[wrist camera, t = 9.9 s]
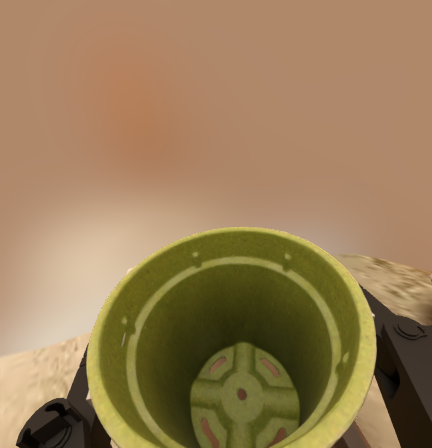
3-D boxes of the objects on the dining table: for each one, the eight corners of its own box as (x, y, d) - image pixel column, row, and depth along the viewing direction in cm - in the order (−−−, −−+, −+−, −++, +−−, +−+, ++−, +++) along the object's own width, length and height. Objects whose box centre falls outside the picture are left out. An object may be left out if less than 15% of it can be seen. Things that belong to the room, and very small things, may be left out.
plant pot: (374, 407, 11) (424, 278, 7) (247, 686, 6) (164, 802, 2) (243, 305, 18) (230, 212, 14) (136, 395, 13) (69, 293, 9)
